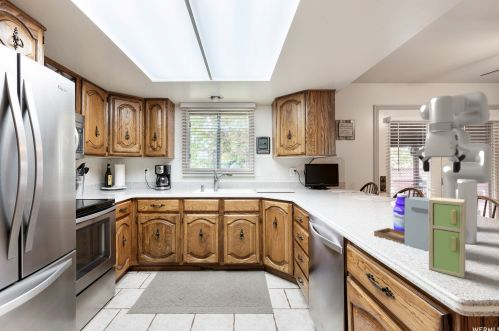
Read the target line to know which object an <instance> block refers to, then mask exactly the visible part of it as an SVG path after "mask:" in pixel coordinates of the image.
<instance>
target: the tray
mask: <svg viewBox="0 0 499 331" xmlns="http://www.w3.org/2000/svg"><path fill="white" fill-rule="evenodd" d="M373 236H374V237H377V236H378V238H382V239H384V238H385V240H388V241H391V240H392V242H395V241H396V243H398V242H399V244H403V242H404V239H405V232H403V231H399V230H395V229H394V228H390V227H385V228H381V229H377V230H374V231H373Z"/></svg>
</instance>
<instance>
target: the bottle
mask: <svg viewBox="0 0 499 331" xmlns="http://www.w3.org/2000/svg"><path fill="white" fill-rule="evenodd" d="M396 194H397V195H396V201H395V202H394V204H395V205H394V207H393V209H392V210H393V212H392V213H393V217H392V218H393V226H392V227H393V229H395V230H399V231H403V232H405V198H409V197H408V196H409V195H408V193H396Z"/></svg>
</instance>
